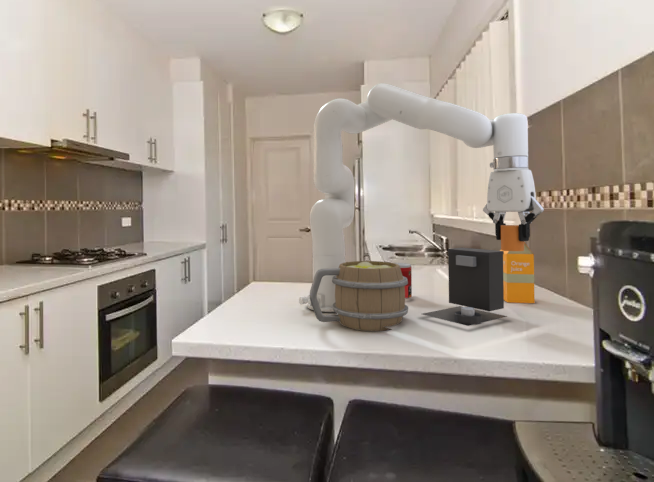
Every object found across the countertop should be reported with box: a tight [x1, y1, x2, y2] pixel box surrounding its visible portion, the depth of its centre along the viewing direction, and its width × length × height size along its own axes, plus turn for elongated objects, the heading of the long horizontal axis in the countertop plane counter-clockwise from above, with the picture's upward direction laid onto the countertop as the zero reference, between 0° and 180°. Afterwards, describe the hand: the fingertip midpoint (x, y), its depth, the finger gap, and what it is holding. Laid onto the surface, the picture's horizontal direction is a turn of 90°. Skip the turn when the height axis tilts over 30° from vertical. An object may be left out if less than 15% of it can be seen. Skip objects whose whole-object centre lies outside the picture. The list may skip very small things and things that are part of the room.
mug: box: [308, 260, 409, 332], centre depth 113 cm, size 19×25×15 cm
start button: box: [461, 306, 476, 316], centre depth 110 cm, size 3×3×2 cm
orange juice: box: [499, 241, 536, 304], centre depth 139 cm, size 8×9×20 cm
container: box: [500, 224, 525, 251], centre depth 110 cm, size 5×5×6 cm
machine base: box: [422, 305, 508, 327], centre depth 116 cm, size 16×14×3 cm
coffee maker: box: [447, 247, 505, 312], centre depth 119 cm, size 8×12×15 cm, turn 32°
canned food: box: [394, 262, 413, 299], centre depth 142 cm, size 8×8×11 cm
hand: (512, 239), depth 110 cm, fingers closed on container, 5 cm apart
